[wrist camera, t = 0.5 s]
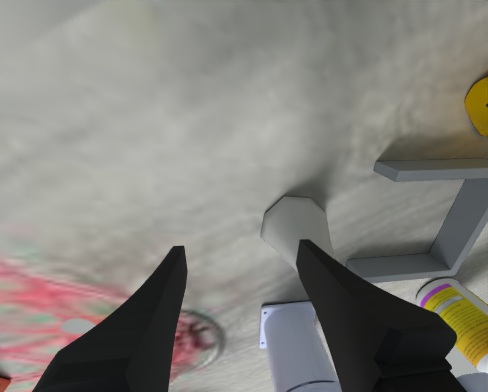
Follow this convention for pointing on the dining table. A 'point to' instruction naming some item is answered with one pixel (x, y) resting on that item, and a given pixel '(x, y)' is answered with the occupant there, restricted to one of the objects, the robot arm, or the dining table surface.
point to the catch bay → (453, 230)
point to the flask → (295, 227)
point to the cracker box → (4, 384)
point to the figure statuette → (478, 106)
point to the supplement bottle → (460, 317)
